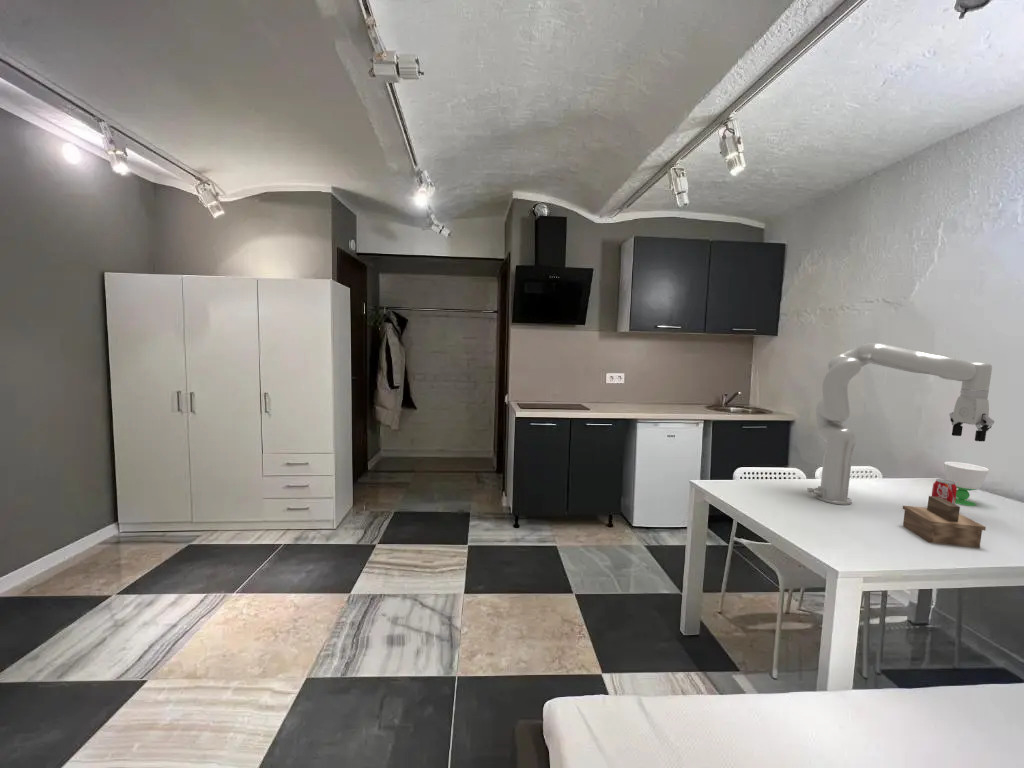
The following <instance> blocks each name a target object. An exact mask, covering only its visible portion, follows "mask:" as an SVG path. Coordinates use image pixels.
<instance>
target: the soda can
mask: <svg viewBox="0 0 1024 768" xmlns="http://www.w3.org/2000/svg"><path fill="white" fill-rule="evenodd" d="M957 490H958V489H957V487H956V485H955V482H952V481H948V480H946V479H942V478H940V479H939V478H936V479H935V481H934V482H933V484H932V489H931V496H935V497H940V498H942V499H944V500H947V501H949V502H951V503H953V504H955V505H956V503H955V500H956V498H957V497H956V492H957Z"/></svg>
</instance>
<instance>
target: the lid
mask: <svg viewBox="0 0 1024 768" xmlns="http://www.w3.org/2000/svg"><path fill="white" fill-rule="evenodd" d="M927 501H928V502H927V507H922V506H913V505H902V509H903V510H904V511H905V510H906V511H907V512H909V513H911V514H913V515H914V516H916V517H918V518H919V519H921V520H923V521H925V522H926V523H928V524H930V525H936V526H946V527H956V528H966V529H975V530H982V531H986V527H987V526H986V525H983V524H981V523H979V522H977V521H975V520H973V519H972V518H969V517H966V516H965V515H963V514H961V513H960V509H961V507H960V506H959V505H958V504H956V503H955V504H953V503H951V502H949V501H947V500H944V499H942V498H940V497H935V496H932V495H928V500H927Z"/></svg>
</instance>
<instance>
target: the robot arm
mask: <svg viewBox="0 0 1024 768" xmlns="http://www.w3.org/2000/svg"><path fill="white" fill-rule="evenodd" d="M869 364H872V365H876V366H881V367H886V368H890V369H894V370H899V371H903V372H910V373H915V374H923V375H932V376H936V377H938V378H940V379H942V380H948V381H957V382H961V388H960V392H959V393H960V395H959V396H957V399H956V402H955V404H954V409H953V412H949V418H950V422H951V426H952V430H951V431H952V432H951V436H954V437H962V434H963V428H964V427H963V424H967V425H972V426H973V425H974V426H975V427H976V431H975V434H974V435H975V436H974V441H975V442H985V441H986V437H987V432H989V430H990V429H992V426H993V425H994V424H995V420H994V419H993V418H991V417H990V416H989V415H990V404H989V403H990V401H989V399H988V398H989V391H990V385H991V379H992V372H993V371H992V370H993V365H992V364H991V363H988V362H982V361H981V362H979V361H978V362H977V361H966V360H962V359H956V358H953V357H947V356H943V355H937V354H931V353H929V352H923V351H919V350H914V349H909V348H904V347H900V346H896V345H890V344H886V343H880V342H867V343H863V344H861V345H858V346H856V347H854V348H851V349H849V350H848V351H847V350H846V351H844V352H842V353H840V354H838V355H836V356H834V357H832V358H831V359H829V362H828V364H827V369H828V371H827V373H826V374H825V376H824V378H823V380H822V383H821V384H822V386H821V387H822V390H821V391H822V399H820V400H819V401H818V402H817V404H816V407H815V415H816V424H817V425H816V426H817V432H818V435H819V437H820V439H821V440H822V441H823V442H825V443H826V446H825V450H824V453H823V460H822V471H821V480H820V485H817V487H815V488H814V487H813V488H812V487H807V489H806V491H807V493H812V494H813V495H814V496H815V497H816V499H818V500H819V501H822V502H825V503H829V504H835V505H841V506H842V505H843V506H844V505H845V506H846V505H847V506H848V505H851V504H852V503H853V501H852V499H851V498H850V497H849V490H850V489H849V487H850V481H851V480H850V476H851V472H852V471H851V469H852V458H853V454H854V450H855V447H856V444H857V437H856V434H855V433H854V431H853V430H852V429H851V428H849V427H848V426H845V425H844V422H845V421H847V420H849V417H850V415H851V409H850V403H849V396H848V395H849V392H848V388H849V387H848V386H849V383H850V382H851V380H852V379H853V378H854V377H856V376H857V375H858V374H859V373H860V372H861V370H862V367H865V366H866V365H869Z"/></svg>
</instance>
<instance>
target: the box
mask: <svg viewBox="0 0 1024 768" xmlns="http://www.w3.org/2000/svg"><path fill="white" fill-rule="evenodd" d="M902 522H903V523H902V526H903V527H904V528H906V529H908V531H910V532H912V533H913V534H915V535H917V536H918V537H920V538H922V539H923V540H925V541H926V542H928V543H933V544H940V545H951V546H959V547H960V546H961V547H969V548H978V549H979V548H981V542H982V541H981V540H982V534H983V530H975V529H966V528H956V527H946V526H936V525H930V524H928V523H926V522H925V521H923V520H921V519H919V518H918V517H916V516H914V515H913V514H911V513H909V512H907V511H906V510H904V514H903V521H902Z"/></svg>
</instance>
